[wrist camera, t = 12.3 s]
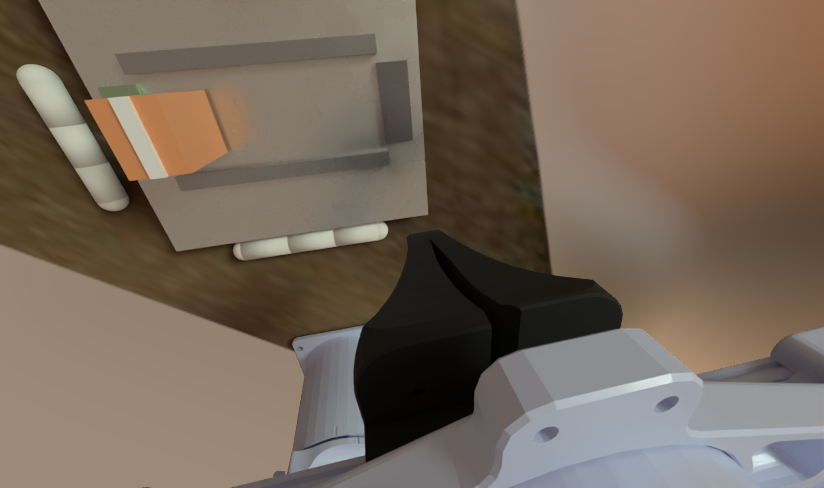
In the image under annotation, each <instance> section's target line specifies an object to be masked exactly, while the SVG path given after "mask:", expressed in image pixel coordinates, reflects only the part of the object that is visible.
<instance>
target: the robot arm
mask: <svg viewBox="0 0 824 488" xmlns="http://www.w3.org/2000/svg"><path fill="white" fill-rule="evenodd" d="M407 242H408V253H407V258H406V262H405V265H404V269H403V272H402V274H401V277H400V279H399V281H398V283H397V285H396V287H395V289H394V291H393V292H392V294H391V296H390V297H389V299H388V300H387V301H386V303H385V304H384V305H383V306H382V308H381V309H380V310H379V312H378V313H377V314H376V315H375V316H374V317H373V318H372V319H371V320H370V321H369V322H367V323H366V324H365V325H363V326H357V327H352V328H346V329H341V330H335V331H330V332H324V333H319V334H313V335H308V336H303V337H297V338H295V339H294V340H293V343H292V346H293V348H294V351H295V353H296V356H297V358H298V360H299V363H300V365H301V368H302V371H303V373H304V376H305V377H304V384H303V390H302V395H301V401H300V408H299V414H298V420H297V426H296V432H295V438H294V444H293V451H292V453H291V458H290V463H289V467H288V473H287V474H285V472H284V471H277V472H275V473H274V475H273V478H269V479H265V480H261V481H257V482H252V483H248V484H244V485H241V486H236V487H232V488H824V327H819V328H815V329H811V330H806V331H802V332H798V333H794V334H791V335H788V336H786V337H784V338H783V339H782V340H780V341H779V342H778V343H777V344H776V346H775V347H774V348H773V350H772V352H771V357H767V358H763V359H759V360H755V361H750V362H746V363H742V364H738V365H734V366H730V367H726V368H722V369H718V370H713V371H710V372H705V373H701V374H697V375H695V374H694V373H693V372H692V371H691V370H689V369H688V368H687V367H686V366H685V365H684V364H683V363H681V362H680V361H679V360H678V359H677V358H676V357H674V356H673V355H672V354H671V353H670V352H669V351H667V350H666V349H665V348H664V347H663V346H662V345H660V344H659V343H658V342H657V341H656V340H655V339H653V338H652V337H651V336H650V335H649V334H647V333H646V332H645V331H644V330H643V329H641V328H639V329H620V327H621V322H622V315H623V313H622V308H621V305H620V304H619V303H618V301H617V300H616V299H615V298H614V297H613V296H612V295H611V294H609V293H608V292H607V291H606V290H604V289H603V288H602V287H601V286H599V285H598V284H597V283H596V282H595V281H593V280H589V279H579V278H571V277H561V276H555V275H549V274H544V273H539V272H534V271H530V270H526V269H522V268H518V267H515V266H511V265H508V264H505V263H502V262H500V261H497V260H494V259H492V258H489V257H487V256H485V255H482V254H480V253H478V252H476V251H474V250H472V249H470V248H468V247H467V246H465V245H463V244H461V243H460V242H458V241H456V240H455V239H453V238H451V237H450V236H448V235H446V234H445V233H443V232H441V231H440V230H434V231H428V232H422V233H416V234H411V235H409V236H408V237H407ZM145 488H149V487H145Z"/></svg>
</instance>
